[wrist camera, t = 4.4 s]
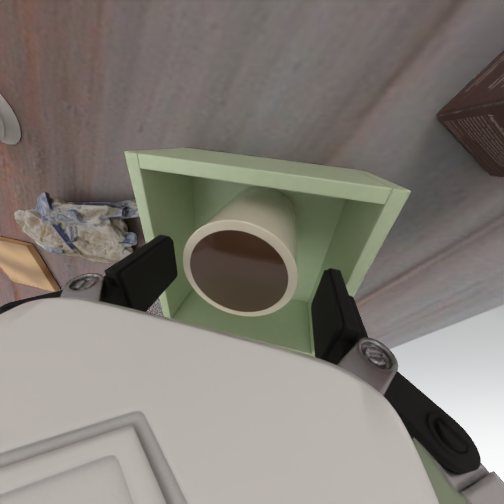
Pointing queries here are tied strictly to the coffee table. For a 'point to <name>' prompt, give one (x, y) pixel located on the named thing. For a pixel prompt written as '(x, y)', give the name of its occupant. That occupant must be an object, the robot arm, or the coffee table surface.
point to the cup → (246, 254)
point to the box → (480, 117)
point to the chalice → (8, 124)
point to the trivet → (25, 265)
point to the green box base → (308, 227)
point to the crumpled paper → (81, 227)
